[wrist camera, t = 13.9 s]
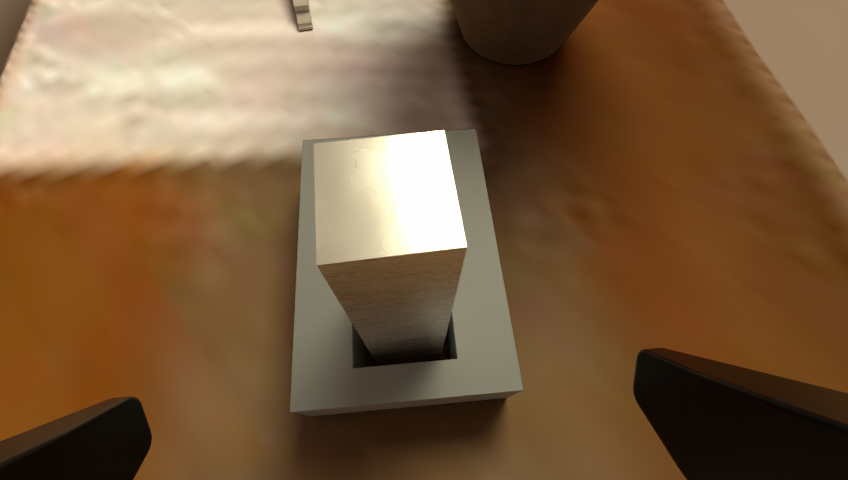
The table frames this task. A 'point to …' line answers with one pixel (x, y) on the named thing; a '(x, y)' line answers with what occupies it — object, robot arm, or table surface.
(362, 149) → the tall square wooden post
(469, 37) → the plant pot
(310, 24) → the caliper
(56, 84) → the table surface
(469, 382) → the bore block
